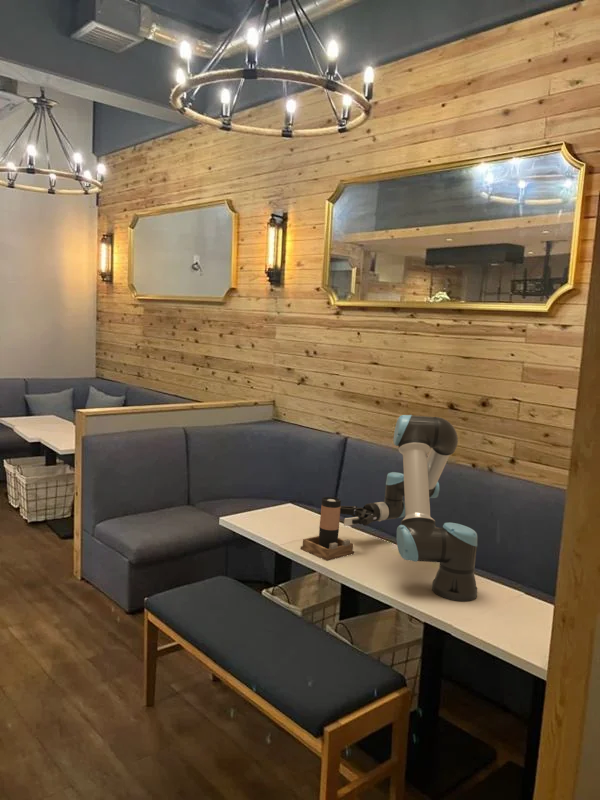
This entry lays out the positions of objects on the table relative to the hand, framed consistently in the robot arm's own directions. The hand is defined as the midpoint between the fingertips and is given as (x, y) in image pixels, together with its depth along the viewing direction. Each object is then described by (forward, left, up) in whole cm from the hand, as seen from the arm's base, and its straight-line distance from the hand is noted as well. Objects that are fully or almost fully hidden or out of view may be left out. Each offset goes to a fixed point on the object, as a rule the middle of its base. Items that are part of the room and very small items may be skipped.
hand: (334, 517), depth 248 cm
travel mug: (0, +2, -13) cm, 13 cm away
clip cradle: (-1, +2, -14) cm, 14 cm away
